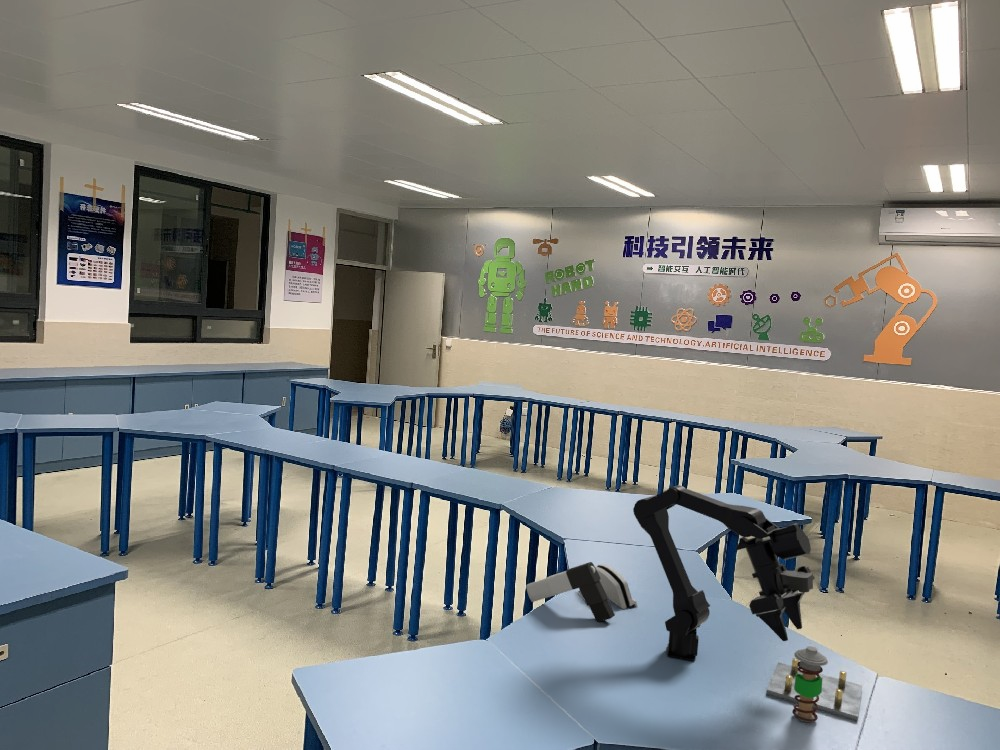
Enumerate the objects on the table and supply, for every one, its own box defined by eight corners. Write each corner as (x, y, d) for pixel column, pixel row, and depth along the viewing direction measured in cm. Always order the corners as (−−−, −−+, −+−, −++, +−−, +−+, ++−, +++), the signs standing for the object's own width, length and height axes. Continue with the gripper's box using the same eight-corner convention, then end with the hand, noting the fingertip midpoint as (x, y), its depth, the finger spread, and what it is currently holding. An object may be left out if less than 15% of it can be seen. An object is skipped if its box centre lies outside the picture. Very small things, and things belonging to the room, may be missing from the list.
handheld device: (610, 619, 190) (588, 563, 193) (542, 638, 201) (522, 585, 204) (616, 614, 193) (594, 559, 196) (549, 633, 204) (530, 581, 207)
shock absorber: (821, 716, 152) (829, 646, 151) (820, 730, 146) (828, 658, 145) (788, 707, 155) (796, 639, 153) (787, 721, 149) (794, 650, 148)
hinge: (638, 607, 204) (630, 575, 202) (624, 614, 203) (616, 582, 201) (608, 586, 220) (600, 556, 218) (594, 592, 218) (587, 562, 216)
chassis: (766, 694, 159) (767, 676, 159) (777, 667, 173) (779, 650, 173) (857, 721, 151) (859, 702, 150) (861, 690, 165) (863, 672, 164)
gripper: (785, 565, 151) (815, 641, 148) (813, 547, 166) (841, 616, 162) (736, 576, 158) (764, 649, 154) (768, 558, 172) (793, 625, 169)
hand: (792, 634), depth 160 cm, fingers open, 9 cm apart
